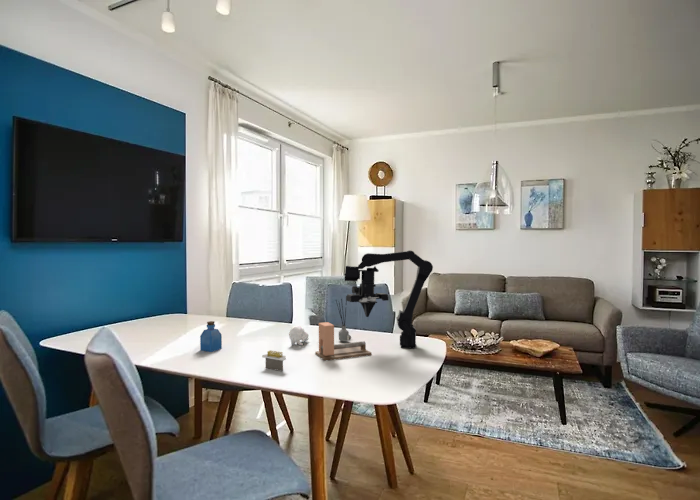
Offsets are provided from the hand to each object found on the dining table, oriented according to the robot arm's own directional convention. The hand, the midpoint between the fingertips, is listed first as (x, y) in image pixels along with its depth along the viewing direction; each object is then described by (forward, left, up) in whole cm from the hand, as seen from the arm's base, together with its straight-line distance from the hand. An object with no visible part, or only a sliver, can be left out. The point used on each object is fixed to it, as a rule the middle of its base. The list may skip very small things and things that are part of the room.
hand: (367, 316), depth 187 cm
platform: (+29, +38, -14) cm, 50 cm away
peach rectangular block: (+14, +19, -12) cm, 27 cm away
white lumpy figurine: (+31, 0, -13) cm, 34 cm away
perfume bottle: (+66, +17, -13) cm, 69 cm away
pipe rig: (+8, +16, -13) cm, 22 cm away
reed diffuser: (+13, -8, -13) cm, 20 cm away
